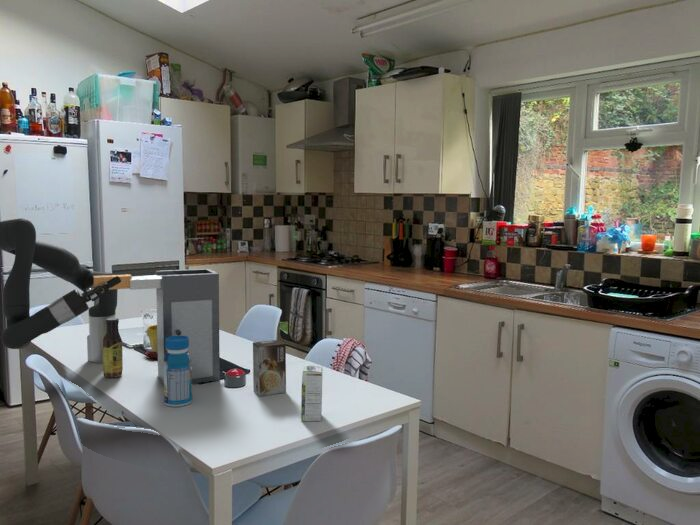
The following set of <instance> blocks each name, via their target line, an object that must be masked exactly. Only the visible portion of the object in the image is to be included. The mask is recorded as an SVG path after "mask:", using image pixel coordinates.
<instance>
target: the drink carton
mask: <svg viewBox="0 0 700 525" xmlns="http://www.w3.org/2000/svg"><path fill="white" fill-rule="evenodd" d="M323 372H324V371H323V366H321V365H303V366H302V374H301V375H302V376H301V393H300V394H301V395H300V396H301V397H300V398H301V404H300V405H301V406H300V407H301V408H300V409H301V410H300V421H301V422H321V421H322V413H323V412H322V411H323V410H322V407H323V406H322V405H323Z"/></svg>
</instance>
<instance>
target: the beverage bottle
mask: <svg viewBox="0 0 700 525" xmlns="http://www.w3.org/2000/svg"><path fill="white" fill-rule="evenodd" d="M165 345H166V350H168V351H167V353H166V354H165V356H164V359H163V362H164V367H163V373H164V385H163V388H164V389H163V390H164V395H163V396H164V398H163V403H164V405H165V406H167V407H172V408H174V407H175V408H176V407H178V408H179V407H185V406H187V405H190V404H191V403H192V402H193V390H192V389H193V388H192V385H193V384H192V365H191V361H192V358H191V355H190V353H189V352H188V350H187V349H188V348H189V338H188V337H187V336H181V335H178V336H170V337H167V338H166V340H165Z"/></svg>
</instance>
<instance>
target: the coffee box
mask: <svg viewBox="0 0 700 525" xmlns="http://www.w3.org/2000/svg"><path fill="white" fill-rule="evenodd" d="M286 354H287V353H286V343H285V342H283V341H281V340H279V339H275V340H266V341H265V340H262V341H254V342H252V366H253V367H252V371H253V372H252V375H253V376H252V378H253V381H252V382H253V386H252V387H253V392H255V394H256V395H257V396H259V397H264V396H271V395H277V394H284V393H287V366H286V365H287V362H286V361H287V360H286V359H287V358H286Z"/></svg>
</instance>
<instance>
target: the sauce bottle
mask: <svg viewBox="0 0 700 525" xmlns="http://www.w3.org/2000/svg"><path fill="white" fill-rule="evenodd" d="M106 324H107V330H106V331H107V333H106V335H105V336H104V338H103V363H102V372H103V377H104V378H107V379H113V378H119V377H121V376H122V375H123V369H124V368H123V366H124V364H123V340H122V338H121V335H120V332H119V318H118V317H116V318H108V319H106Z"/></svg>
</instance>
